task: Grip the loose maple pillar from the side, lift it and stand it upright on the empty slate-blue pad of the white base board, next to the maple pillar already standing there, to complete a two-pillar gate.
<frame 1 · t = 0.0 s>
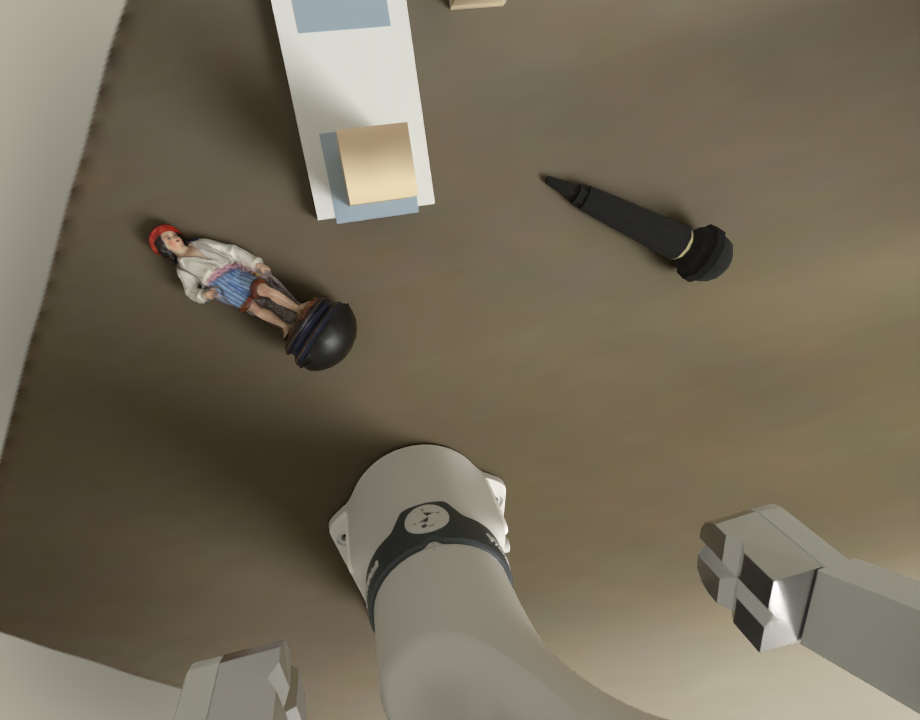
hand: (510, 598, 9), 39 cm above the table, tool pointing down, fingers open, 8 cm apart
microphone: (633, 218, 50), on the table
white base board: (354, 85, 41), on the table
standing pillar: (371, 174, 41), point 2 cm above the table, touching white base board
figurine: (262, 286, 44), on the table
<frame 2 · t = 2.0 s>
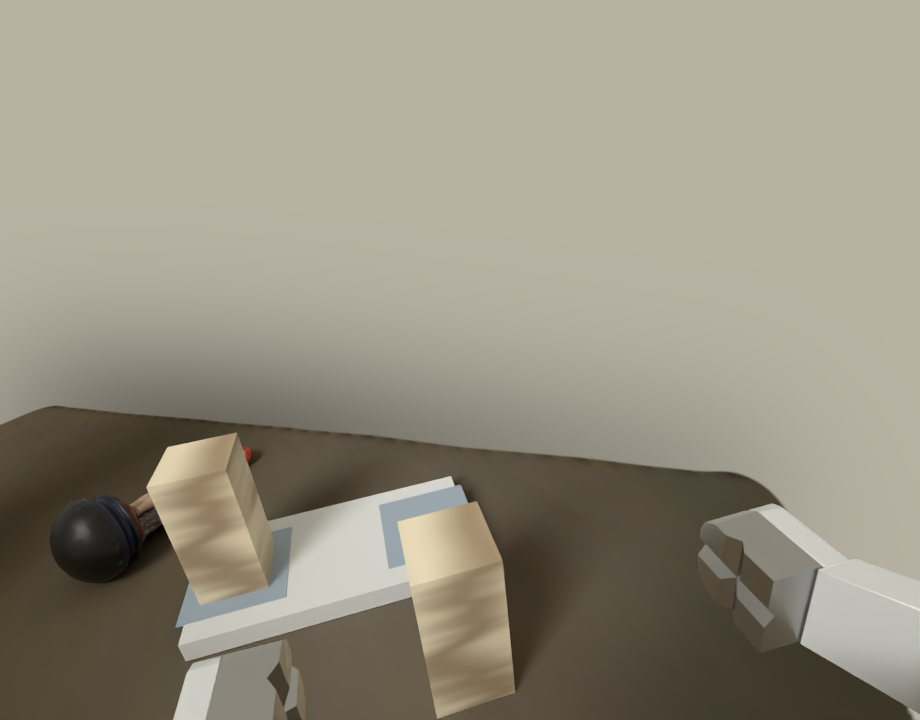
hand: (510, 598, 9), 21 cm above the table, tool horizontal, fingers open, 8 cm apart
white base board: (341, 561, 38), on the table
loose pillar: (466, 667, 30), on the table
standing pillar: (239, 571, 36), point 2 cm above the table, touching white base board
figurine: (182, 519, 45), on the table
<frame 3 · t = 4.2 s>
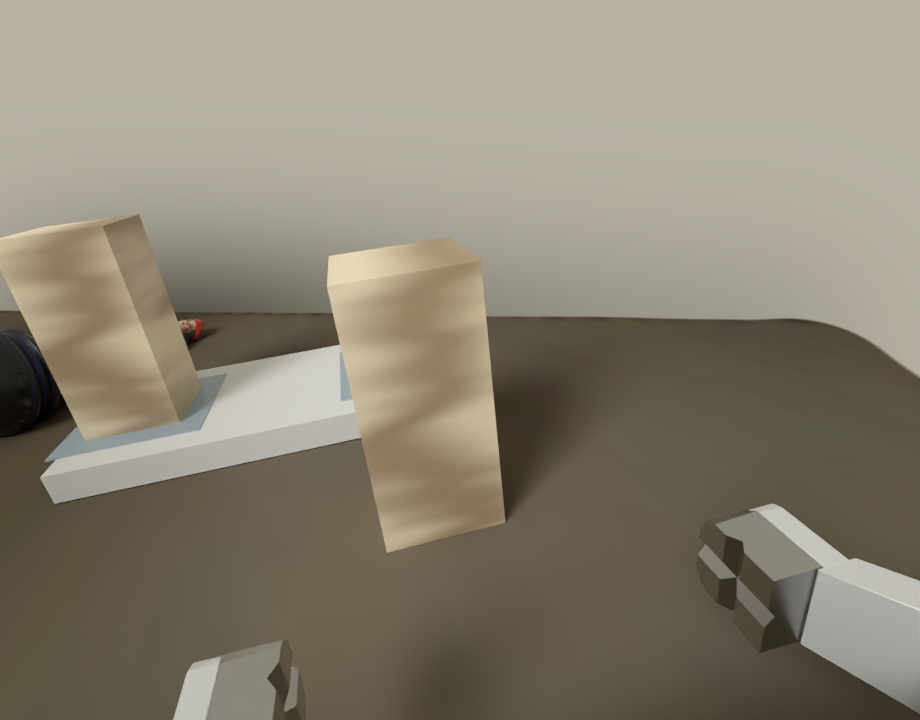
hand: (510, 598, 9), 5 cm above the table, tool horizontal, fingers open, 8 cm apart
white base board: (285, 409, 29), on the table
loose pillar: (436, 499, 20), on the table
standing pillar: (148, 411, 27), point 2 cm above the table, touching white base board
figurine: (116, 384, 37), on the table
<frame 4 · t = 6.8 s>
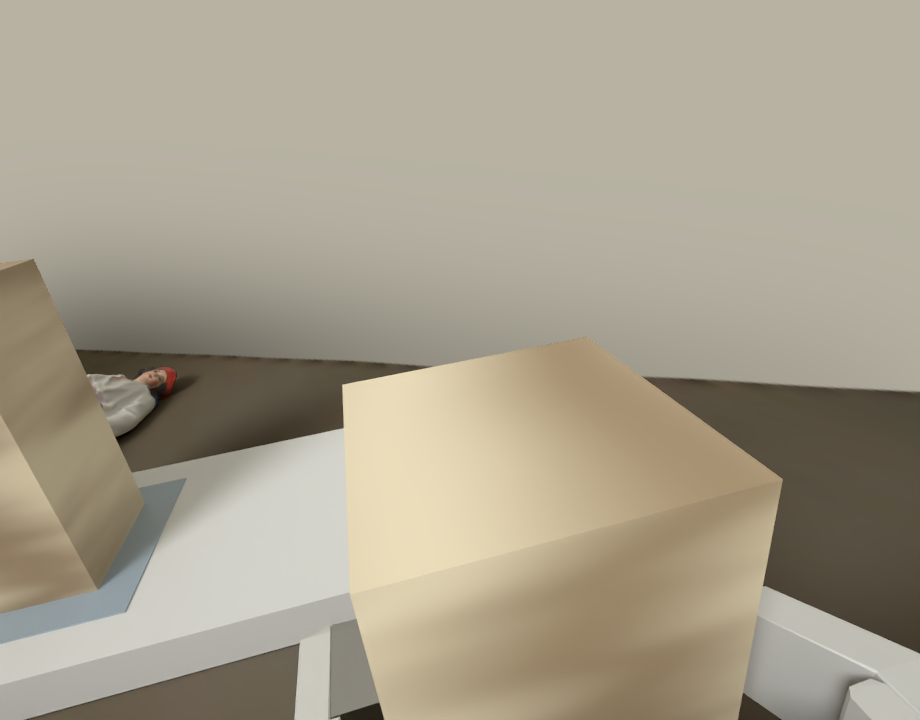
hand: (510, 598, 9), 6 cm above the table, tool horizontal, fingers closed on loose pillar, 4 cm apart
white base board: (269, 541, 20), on the table
standing pillar: (56, 557, 18), point 2 cm above the table, touching white base board
figurine: (63, 468, 27), on the table
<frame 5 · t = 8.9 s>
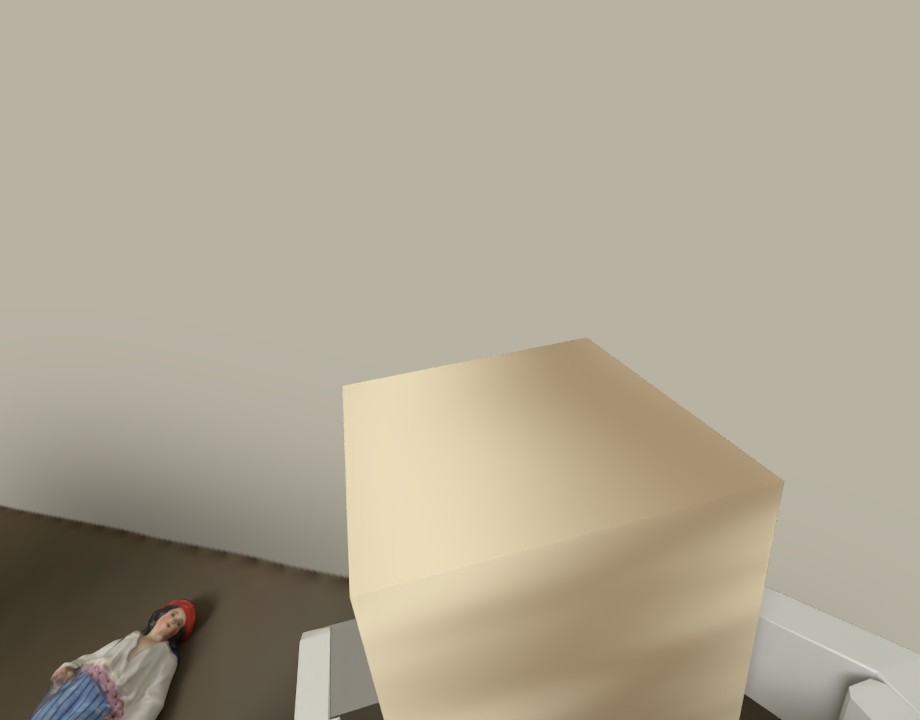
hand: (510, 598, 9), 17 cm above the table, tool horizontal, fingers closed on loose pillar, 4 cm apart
when the fingers open (8 cm above the table, at t = 11.4 s): loose pillar drops 1 cm, resting on white base board.
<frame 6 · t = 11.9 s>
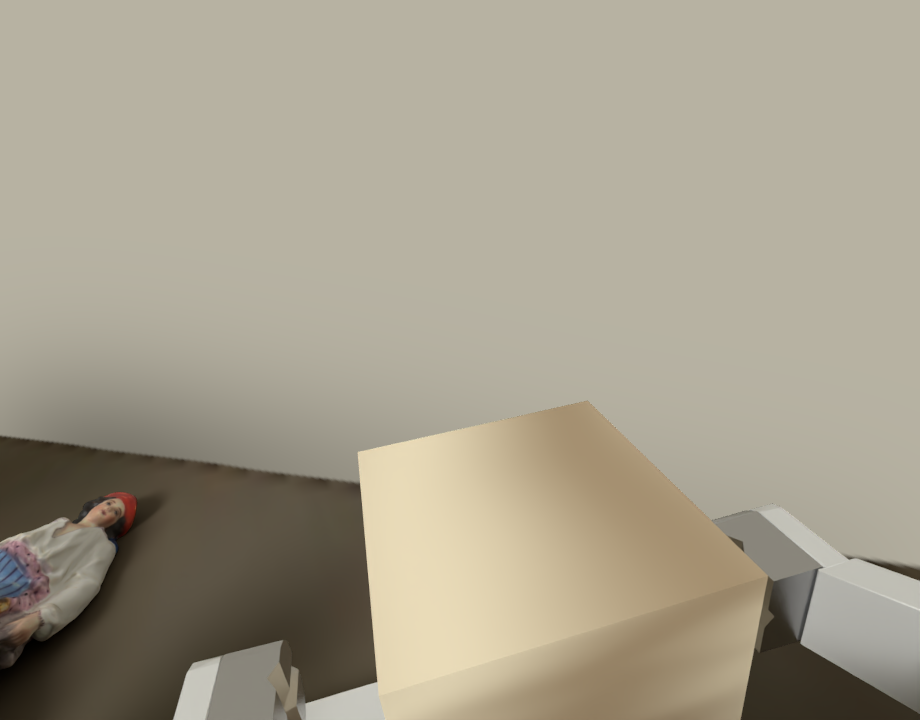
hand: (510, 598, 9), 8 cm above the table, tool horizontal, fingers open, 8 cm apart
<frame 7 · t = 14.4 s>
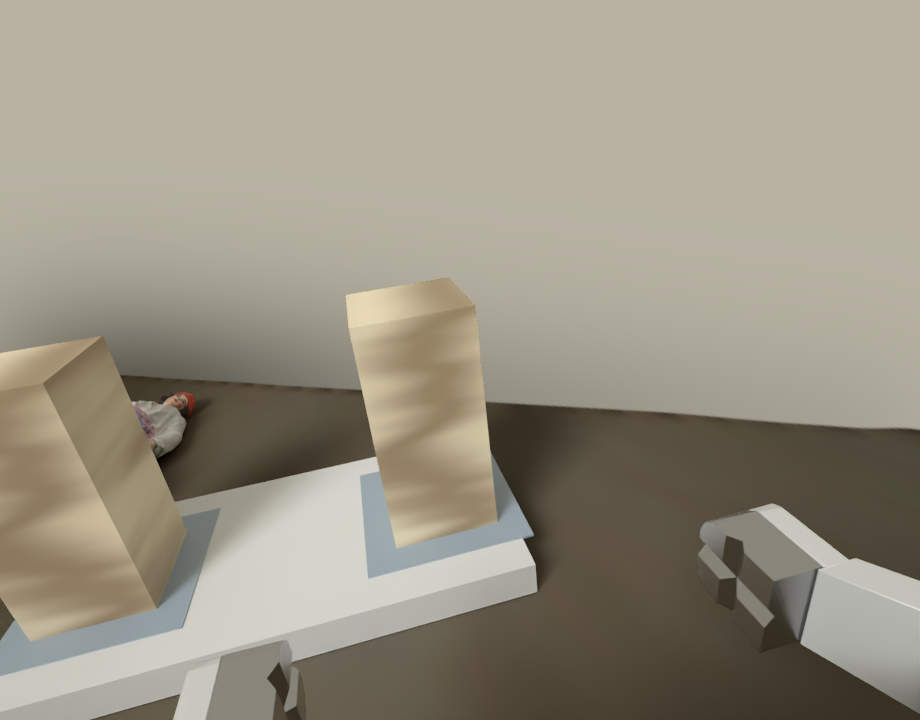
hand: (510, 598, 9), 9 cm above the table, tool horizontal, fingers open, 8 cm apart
white base board: (294, 564, 23), on the table
loose pillar: (438, 502, 24), point 2 cm above the table, touching white base board
standing pillar: (117, 580, 21), point 2 cm above the table, touching white base board
figurine: (128, 483, 32), on the table
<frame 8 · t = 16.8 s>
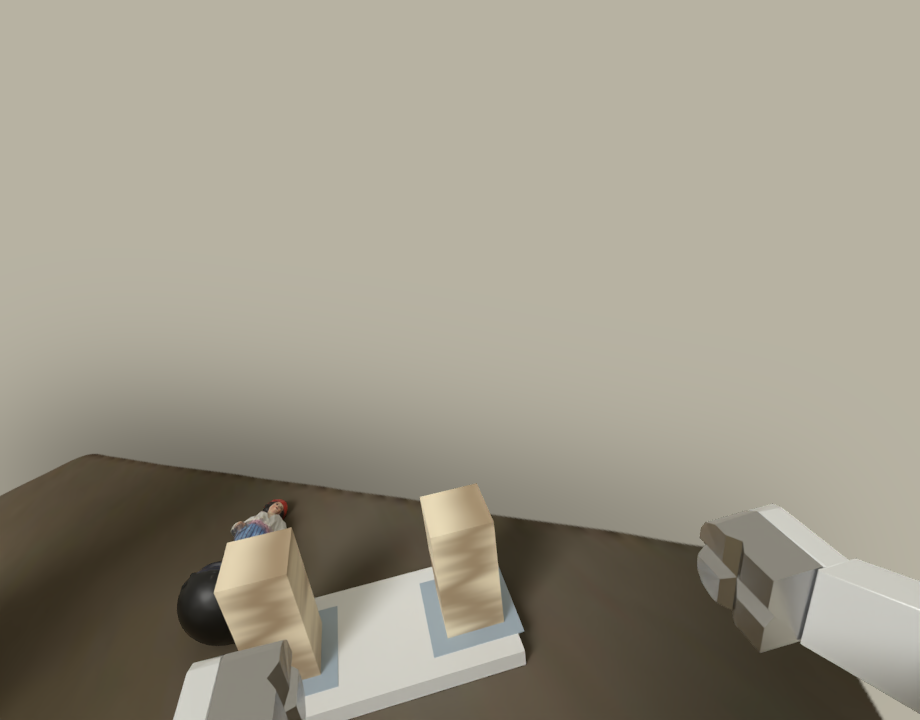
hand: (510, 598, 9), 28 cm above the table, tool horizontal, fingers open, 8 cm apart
white base board: (385, 643, 40), on the table
loose pillar: (468, 606, 40), point 2 cm above the table, touching white base board
standing pillar: (291, 655, 38), point 2 cm above the table, touching white base board
figurine: (259, 574, 49), on the table, touching white base board
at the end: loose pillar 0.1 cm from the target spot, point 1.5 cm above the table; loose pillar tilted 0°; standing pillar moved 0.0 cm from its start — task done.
